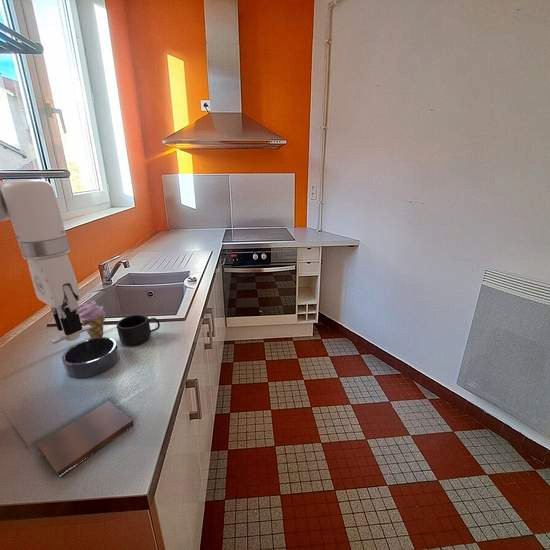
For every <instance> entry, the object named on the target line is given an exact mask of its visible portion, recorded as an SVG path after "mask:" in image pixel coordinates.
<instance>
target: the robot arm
mask: <svg viewBox="0 0 550 550" xmlns="http://www.w3.org/2000/svg"><path fill="white" fill-rule="evenodd" d="M5 221H10V222H11V225H12V229H13V231H14V234H15V237H16V240H17V243H18V245H19V249H20V252H21V255H22V258H23V259H24V260H25V261H26V260H27V266H28V270H29V275H30V278H31V282H32V286H33V289H34V292H35V293H34V294H35V296H36V298H37V299H38V300H39V301H40V302H42V303H44V304H45V305H47V306H48V307H50V310H51V313H52V316H53V319H54V322H55V326H56V329H57V331H59V332H62V331H63V330H64V332H63V334H64V333H65V335H67V336H68V335H71V334H73V333H76V332H78V331H80V330H82V327H83V324H82V322H81V320H80V315H79V312H78V310H79V309H80V305H79V303H78V302H79V301H80V300H81V293H80V292H81V291H80V287H79V283H78V281H77V278H76V275H75V274H76V273H75V271H74V267H73V265H72V263H71V260H70V258H69V255H68V254H69V253H71V248H70V244H69V239H68V237H67V234H66V233H67V232H66V229H65V226H64V222H63V219H62V215H61V211H60V207H59V204H58V200H57V197H56V192H55V190H54V187H53V185H52V184H51V183H50V182H48V181H47V180H43V179H26V180H25V179H24V180H23V179H22V180H12V181H6V180H5V181H4V180H0V223H1V222H5ZM65 306H68V307H67V308H65V310H64V307H65ZM56 308H59V311H60V314H61V316H62V318H60V319H59V316H58V313H57V309H56ZM60 320H61V322H60ZM61 323H62V325H61ZM62 326H63V329H62Z"/></svg>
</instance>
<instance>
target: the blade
mask: <svg viewBox="0 0 550 550" xmlns="http://www.w3.org/2000/svg"><path fill="white" fill-rule="evenodd" d="M67 307H68V306H65V307H64V310H65V308H67ZM56 309H57V313H58V316H59V319H60V318H62V316H61V314H60V311H59V308H56ZM60 322H61V320H60ZM61 325H62V323H61ZM91 328H92V326H90V325H86V326H83V325H82V330H80V331H78V332H76V333H73V334H71V335H68V336H67V335H65V333H64V330H62V331H63V334H61V335H59V336H55V337H53V338H51V339H49V342H50V343H52V344H53V345H55V344H58V343H60V342H62V341H67V342H72V341H76V340H78V339H79V338H80V337H81V333H84V332H87V331H86V330H89V329H91ZM62 329H63V326H62Z"/></svg>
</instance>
